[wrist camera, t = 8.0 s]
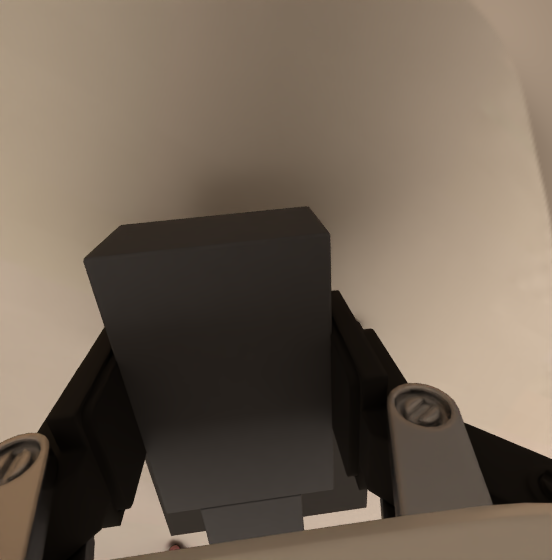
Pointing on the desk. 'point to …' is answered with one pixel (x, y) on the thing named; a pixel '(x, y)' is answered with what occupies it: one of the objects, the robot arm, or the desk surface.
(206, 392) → the dark grey block
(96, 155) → the desk surface
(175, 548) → the video game controller
